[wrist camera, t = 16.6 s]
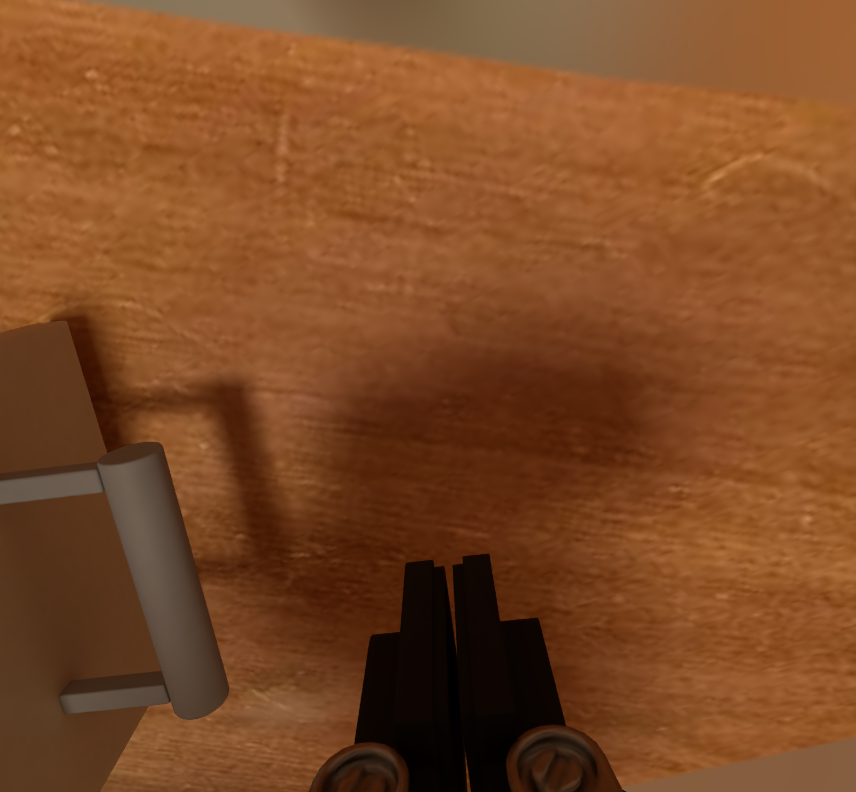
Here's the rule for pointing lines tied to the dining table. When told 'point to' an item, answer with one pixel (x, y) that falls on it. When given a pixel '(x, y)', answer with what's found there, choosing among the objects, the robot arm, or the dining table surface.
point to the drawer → (87, 580)
